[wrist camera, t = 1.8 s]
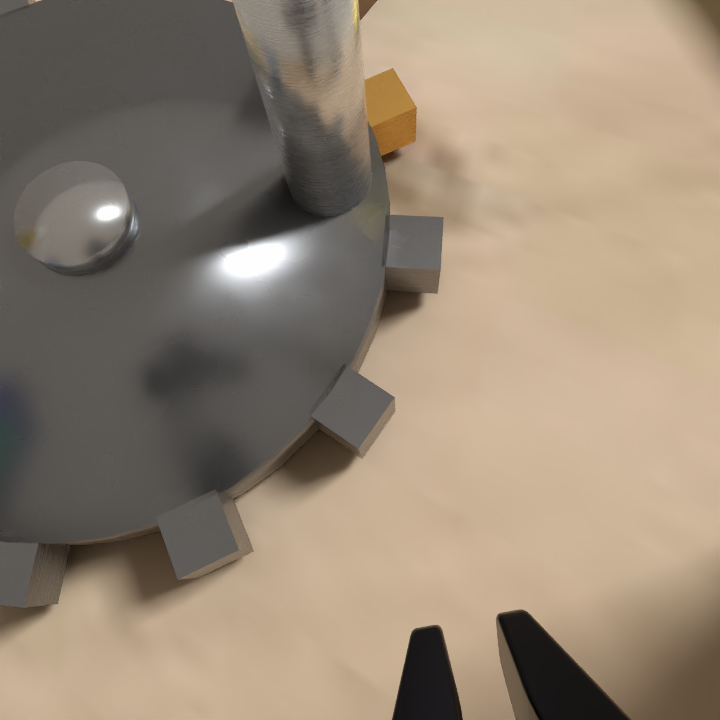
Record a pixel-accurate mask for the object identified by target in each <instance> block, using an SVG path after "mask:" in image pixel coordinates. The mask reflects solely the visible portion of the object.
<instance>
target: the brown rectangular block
mask: <svg viewBox="0 0 720 720" xmlns="http://www.w3.org/2000/svg"><path fill="white" fill-rule="evenodd" d="M376 1H377V0H358V2H359V16H360V20H361V19H362V17H363V16H364V15H365V14H366V13H367V11H368V10H369V9H370V8H371V7H372V6H373V4H374V3H375V2H376Z"/></svg>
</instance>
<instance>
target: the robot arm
mask: <svg viewBox="0 0 720 720" xmlns="http://www.w3.org/2000/svg"><path fill="white" fill-rule="evenodd" d="M496 625H497V636H498V646H499V655H500V661H501V665H502V670H503V673H504V677H505V681H506V685H507V688H508V692H509V696H510V700H511V703H512V707H513V711H514V715H515V718H516V720H631V719H630V718H629V717H628V716H627V715H626V714H625V713H624V712H623V711H622V709H621V708H620V707H619V706H618V705H617V704H616V703H615V702H614V701H613V700H612V699H611V698H610V697H609V696H608V695H607V694H606V693H605V692H604V691H603V690H602V689H601V688H600V687H599V686H598V685H597V683H596V682H595V681H594V680H593V679H592V678H591V677H590V676H589V675H588V674H587V673H586V672H585V671H584V670H583V669H582V668H581V667H580V666H579V665H578V664H577V663H576V662H575V661H574V660H573V659H572V657H571V656H570V655H569V654H568V653H567V652H566V651H565V650H564V649H563V648H562V647H561V646H560V645H559V644H558V643H557V642H556V641H555V640H554V639H553V638H552V637H551V636H550V635H549V634H548V633H547V631H546V630H545V629H544V628H543V627H542V626H541V625H540V624H539V623H538V622H537V621H536V620H535V619H534V618H533V617H532V616H531V615H530V614H529V613H528V612H527V611H525V610H514V611H509V612H503V613H500V614H498V615H497V617H496ZM392 720H463V718H462V711H461V706H460V701H459V696H458V692H457V688H456V684H455V680H454V676H453V672H452V668H451V664H450V660H449V655H448V651H447V647H446V643H445V639H444V635H443V631H442V628H441V627H440V626H438V625H432V626H426V627H421V628H416V629H414V630H413V631H412V633H411V636H410V640H409V645H408V649H407V654H406V659H405V663H404V668H403V672H402V677H401V681H400V686H399V690H398V695H397V699H396V704H395V708H394V713H393V718H392Z"/></svg>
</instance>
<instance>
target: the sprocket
mask: <svg viewBox="0 0 720 720" xmlns="http://www.w3.org/2000/svg"><path fill="white" fill-rule="evenodd" d="M416 108H417V107H416V106H415V104H414V102H413V101H412V99H411V97H410V96H409V94H408V92H407V91H406V89H405V87H404V86H403V84H402V82H401V81H400V79H399V77H398V76H397V74H396V72H395V71H394V69H393V68H392V69H390V70H388V71H385V72H383V73H381V74H378V75H376V76H374V77H371V78H369V79H367V80H364V68H363V55H362V42H361V29H360V16H359V2H358V0H233V3H232V2H229V1H225V0H41V1H38V2H36V1H35V0H0V605H1V606H10V607H20V608H27V607H35V606H43V605H51V604H58V601H59V596H60V592H61V587H62V582H63V578H64V573H65V568H66V564H67V559H68V554H69V550H70V545H88V544H97V543H105V542H114V541H123V540H128V539H132V538H136V537H140V536H144V535H148V534H152V533H155V532H159V531H161V534H162V537H163V540H164V543H165V545H166V548H167V551H168V554H169V557H170V560H171V563H172V565H173V568H174V571H175V574H176V577H177V580H179V579H191V578H199V577H201V576H203V575H205V574H207V573H209V572H211V571H213V570H215V569H218V568H220V567H222V566H224V565H226V564H228V563H230V562H232V561H234V560H236V559H238V558H240V557H243V556H245V555H247V554H249V553H251V552H253V548H252V546H251V543H250V540H249V538H248V535H247V533H246V530H245V528H244V525H243V523H242V520H241V517H240V515H239V512H238V510H237V507H236V505H235V502H234V500H233V499H234V498H236V497H238V496H240V495H242V494H243V493H245V492H247V491H248V490H249V489H251V488H252V487H253V486H255V485H256V484H257V483H259V482H260V481H262V480H263V479H264V478H266V477H267V476H268V475H270V474H271V473H273V472H274V471H275V470H277V469H278V468H279V467H281V466H282V465H283V464H284V463H285V462H286V461H287V460H288V459H289V458H290V457H291V456H292V455H293V454H294V453H295V452H296V451H298V450H299V449H300V448H301V447H302V446H303V445H304V444H305V443H306V442H307V441H308V440H309V439H310V438H311V437H312V436H313V435H314V433H315V432H316V431H317V430H318V429H320V430H322V431H323V432H324V433H326V434H327V435H329V436H330V437H332V438H333V439H334V440H336V441H337V442H339V443H340V444H342V445H343V446H345V447H346V448H347V449H349V450H350V451H352V452H353V453H355V454H356V455H358V456H359V457H360V458H363V457H364V456H365V454H366V453H367V451H368V450H369V448H370V447H371V446H372V444H373V443H374V441H375V440H376V438H377V437H378V435H379V434H380V433H381V431H382V430H383V428H384V427H385V425H386V424H387V423H388V421H389V420H390V418H391V417H392V415H393V414H394V412H395V397H393V396H392V395H390V394H389V393H387V392H386V391H384V390H383V389H381V388H380V387H378V386H377V385H375V384H373V383H372V382H370V381H369V380H367V379H366V378H364V377H363V376H361V375H360V374H358V372H359V369H360V367H361V365H362V363H363V361H364V358H365V356H366V354H367V352H368V350H369V347H370V345H371V343H372V341H373V339H374V336H375V333H376V330H377V326H378V323H379V320H380V316H381V313H382V310H383V306H384V303H385V298H386V291H402V292H420V293H437V292H438V285H439V277H440V269H441V252H442V234H443V217H425V216H404V215H390V202H389V194H388V187H387V180H386V173H385V167H384V164H383V161H382V157H381V156H383V155H385V154H387V153H390V152H392V151H394V150H396V149H399V148H401V147H403V146H406V145H408V144H410V143H412V142H415V138H416Z"/></svg>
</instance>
